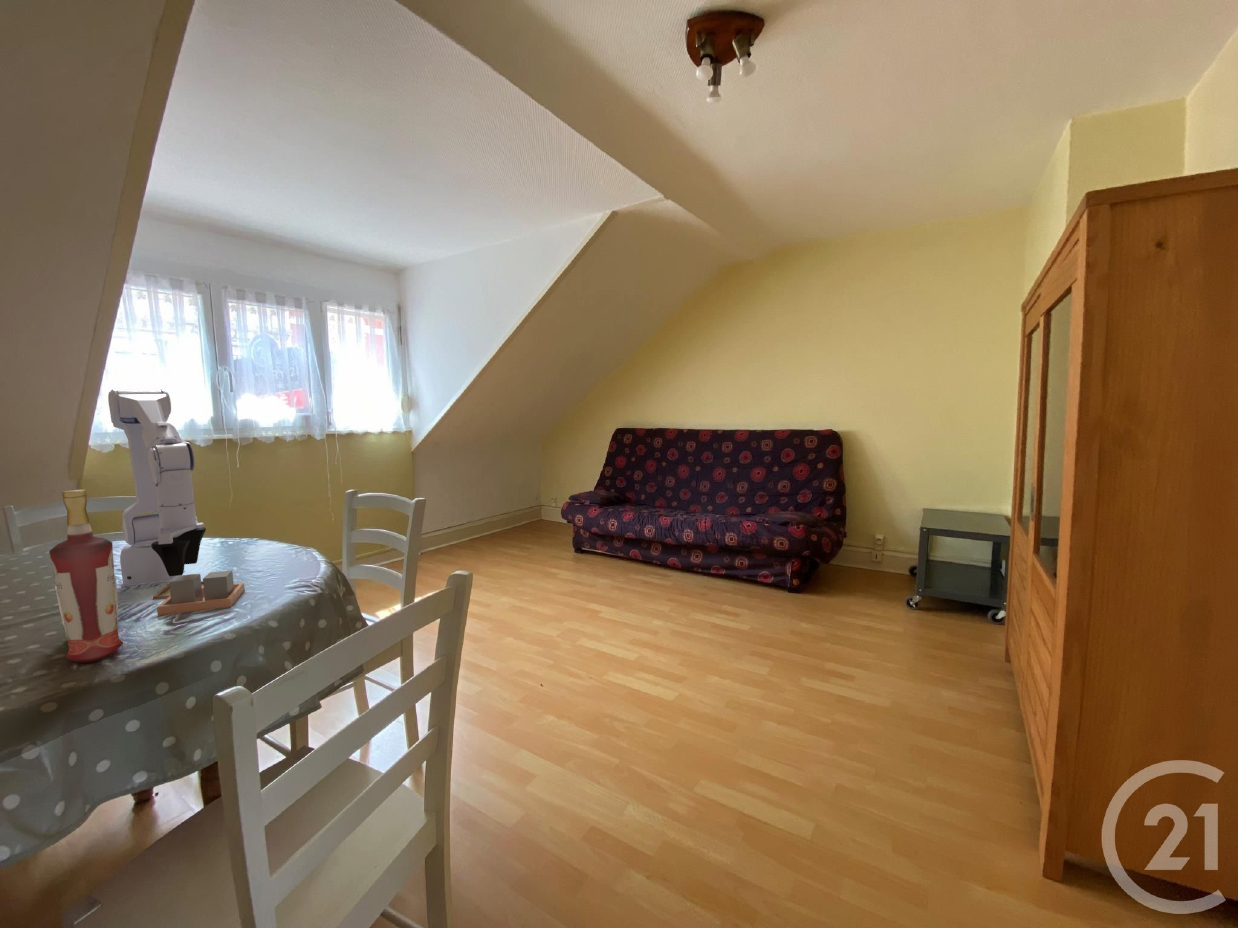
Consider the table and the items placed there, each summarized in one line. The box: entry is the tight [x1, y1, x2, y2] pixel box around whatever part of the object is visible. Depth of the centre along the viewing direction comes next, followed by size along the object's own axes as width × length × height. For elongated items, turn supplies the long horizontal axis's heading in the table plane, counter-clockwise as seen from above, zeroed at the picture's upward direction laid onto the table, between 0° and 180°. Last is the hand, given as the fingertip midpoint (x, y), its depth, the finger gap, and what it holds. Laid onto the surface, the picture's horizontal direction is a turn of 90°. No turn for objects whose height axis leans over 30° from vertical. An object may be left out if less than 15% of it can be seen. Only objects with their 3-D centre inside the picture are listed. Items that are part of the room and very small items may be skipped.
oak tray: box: [151, 580, 204, 601], centre depth 120 cm, size 12×8×1 cm, turn 111°
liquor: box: [48, 489, 124, 664], centre depth 89 cm, size 7×7×28 cm
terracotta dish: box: [156, 582, 246, 617], centre depth 113 cm, size 12×10×2 cm
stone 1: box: [168, 573, 203, 604], centre depth 112 cm, size 4×4×6 cm
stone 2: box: [202, 570, 235, 601], centre depth 114 cm, size 4×4×6 cm
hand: (183, 569), depth 111 cm, fingers open, 7 cm apart
